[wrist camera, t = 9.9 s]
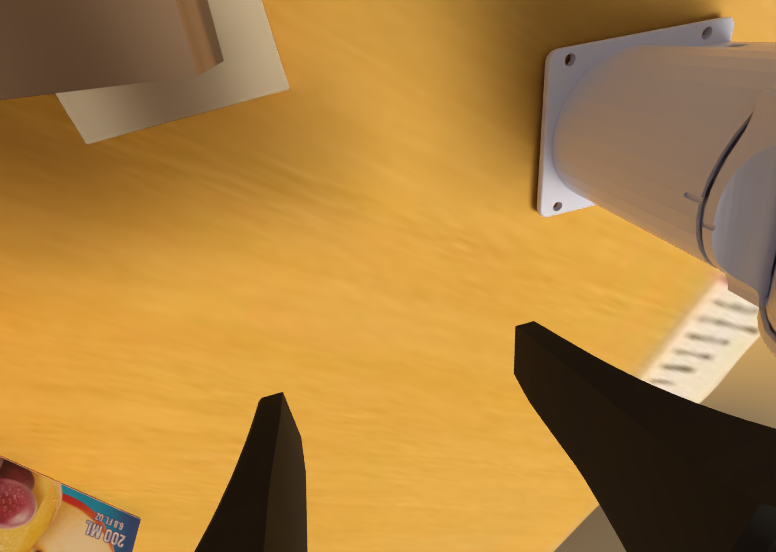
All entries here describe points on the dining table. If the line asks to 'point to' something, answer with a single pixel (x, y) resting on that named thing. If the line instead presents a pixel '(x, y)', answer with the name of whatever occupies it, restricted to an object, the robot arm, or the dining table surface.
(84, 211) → the dining table surface
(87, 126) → the oak base
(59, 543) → the juice carton
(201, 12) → the walnut block
